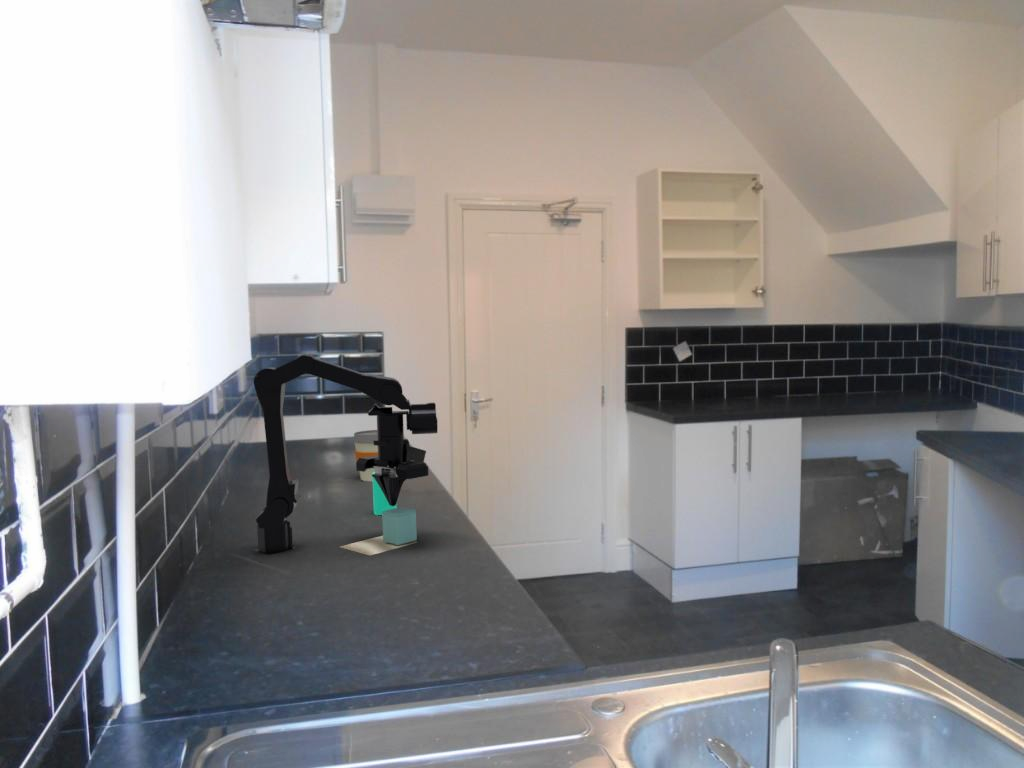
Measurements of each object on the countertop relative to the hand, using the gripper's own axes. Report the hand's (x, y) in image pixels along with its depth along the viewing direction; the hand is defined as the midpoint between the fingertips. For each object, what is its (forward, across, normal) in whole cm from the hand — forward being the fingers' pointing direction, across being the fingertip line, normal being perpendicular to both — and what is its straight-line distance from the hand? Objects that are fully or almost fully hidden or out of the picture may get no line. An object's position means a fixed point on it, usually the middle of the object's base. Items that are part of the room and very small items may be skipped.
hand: (392, 505), depth 178 cm
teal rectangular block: (+8, -2, 0) cm, 8 cm away
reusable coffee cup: (+9, +69, -46) cm, 83 cm away
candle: (+9, +26, -18) cm, 33 cm away
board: (+8, 0, +4) cm, 9 cm away
